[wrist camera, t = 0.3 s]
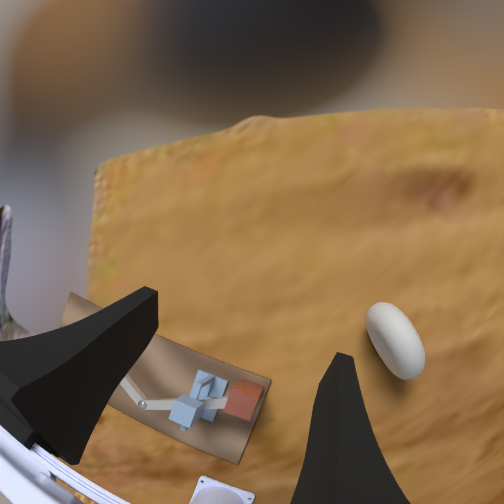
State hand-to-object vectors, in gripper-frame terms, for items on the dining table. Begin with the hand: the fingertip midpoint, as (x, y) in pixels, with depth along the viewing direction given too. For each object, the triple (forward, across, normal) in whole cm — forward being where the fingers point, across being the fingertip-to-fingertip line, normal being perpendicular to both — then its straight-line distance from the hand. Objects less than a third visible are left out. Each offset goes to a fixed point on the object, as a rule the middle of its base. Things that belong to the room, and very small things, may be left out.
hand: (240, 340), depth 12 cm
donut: (+23, -15, +17) cm, 32 cm away
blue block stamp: (+13, +4, +27) cm, 31 cm away
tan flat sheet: (+13, +14, +29) cm, 35 cm away
